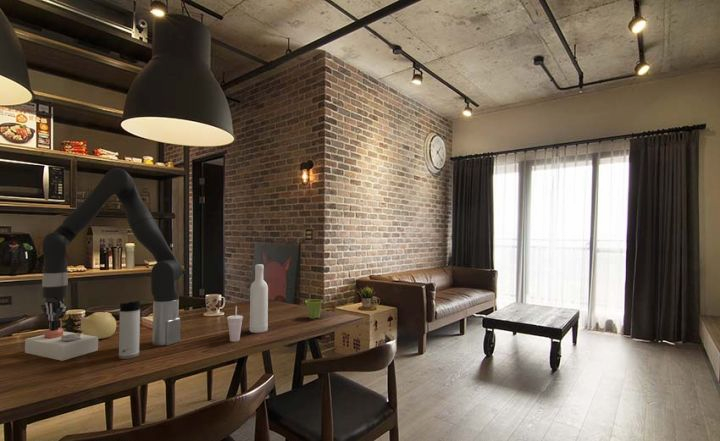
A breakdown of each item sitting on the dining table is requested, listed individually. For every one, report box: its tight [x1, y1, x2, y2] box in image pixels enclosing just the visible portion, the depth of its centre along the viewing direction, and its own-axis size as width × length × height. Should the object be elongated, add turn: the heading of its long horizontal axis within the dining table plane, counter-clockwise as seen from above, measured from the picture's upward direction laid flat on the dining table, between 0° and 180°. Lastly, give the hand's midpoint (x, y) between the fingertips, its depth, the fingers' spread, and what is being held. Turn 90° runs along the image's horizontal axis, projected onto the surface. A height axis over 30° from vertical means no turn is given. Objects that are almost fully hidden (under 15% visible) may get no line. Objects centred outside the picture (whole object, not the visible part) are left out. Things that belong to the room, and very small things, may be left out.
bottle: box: [249, 263, 269, 334], centre depth 168 cm, size 8×8×30 cm
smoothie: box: [226, 305, 244, 342], centre depth 153 cm, size 6×6×14 cm
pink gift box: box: [43, 327, 64, 339], centre depth 140 cm, size 6×6×6 cm
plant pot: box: [304, 298, 324, 320], centre depth 194 cm, size 9×9×9 cm
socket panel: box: [24, 330, 99, 362], centre depth 138 cm, size 22×12×5 cm, turn 69°
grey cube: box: [61, 333, 81, 342], centre depth 136 cm, size 6×6×6 cm
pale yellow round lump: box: [80, 311, 117, 340], centre depth 156 cm, size 11×12×11 cm
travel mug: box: [118, 300, 141, 360], centre depth 134 cm, size 6×7×20 cm
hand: (53, 330), depth 140 cm, fingers closed
